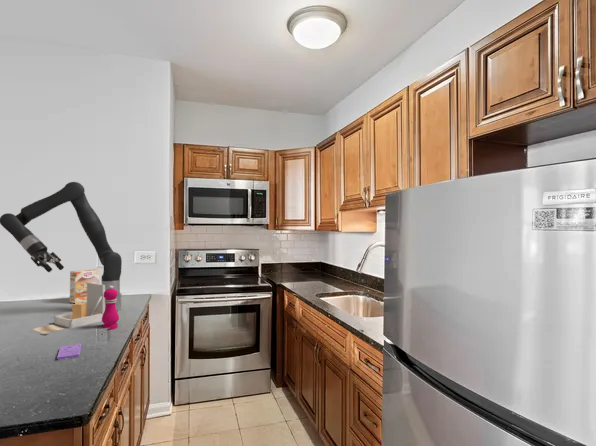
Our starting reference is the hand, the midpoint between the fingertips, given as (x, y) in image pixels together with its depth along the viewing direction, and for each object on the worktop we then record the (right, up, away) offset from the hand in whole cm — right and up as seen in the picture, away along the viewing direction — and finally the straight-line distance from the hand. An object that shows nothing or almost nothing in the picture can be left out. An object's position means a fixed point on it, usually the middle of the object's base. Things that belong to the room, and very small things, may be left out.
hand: (56, 269), depth 179 cm
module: (+11, -25, 0) cm, 28 cm away
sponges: (+32, -27, -40) cm, 58 cm away
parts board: (+4, -26, -12) cm, 29 cm away
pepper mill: (+30, -27, -7) cm, 40 cm away
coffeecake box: (-16, -27, +51) cm, 60 cm away
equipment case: (+11, -26, 0) cm, 29 cm away
